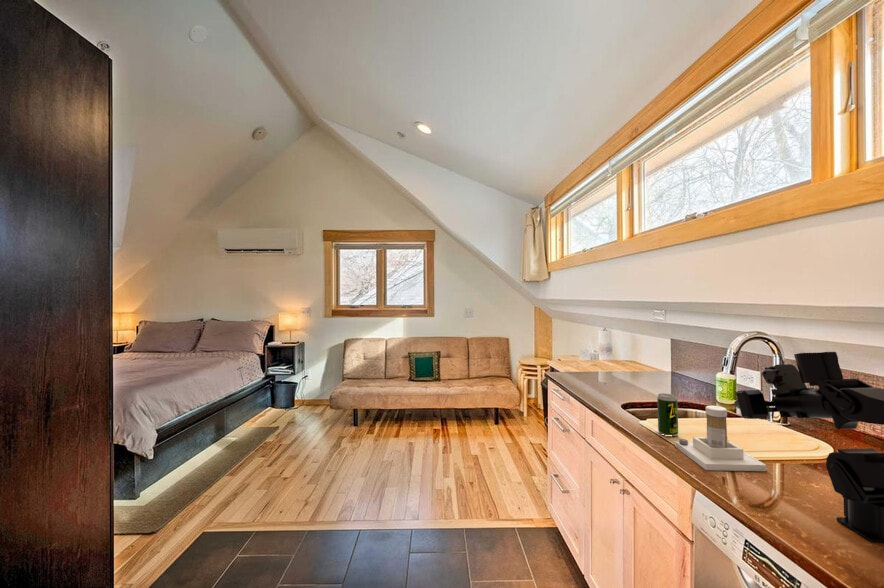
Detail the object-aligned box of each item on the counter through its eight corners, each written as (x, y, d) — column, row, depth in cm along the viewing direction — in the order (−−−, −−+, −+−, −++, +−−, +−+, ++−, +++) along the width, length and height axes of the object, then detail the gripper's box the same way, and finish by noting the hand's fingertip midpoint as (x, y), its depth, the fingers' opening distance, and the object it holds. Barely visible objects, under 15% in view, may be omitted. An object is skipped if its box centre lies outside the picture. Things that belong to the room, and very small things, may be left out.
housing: (766, 471, 90) (766, 454, 90) (705, 470, 91) (705, 453, 91) (727, 447, 104) (727, 433, 104) (675, 446, 105) (675, 432, 105)
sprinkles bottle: (731, 459, 97) (729, 407, 97) (724, 463, 94) (722, 411, 94) (711, 453, 101) (709, 403, 101) (703, 457, 98) (702, 406, 98)
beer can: (654, 432, 116) (653, 394, 116) (664, 429, 119) (663, 392, 119) (671, 438, 111) (670, 398, 111) (682, 435, 114) (681, 396, 114)
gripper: (845, 363, 79) (781, 369, 94) (759, 365, 79) (708, 371, 94) (863, 418, 76) (794, 415, 91) (773, 420, 76) (719, 417, 91)
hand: (753, 403), depth 92 cm, fingers open, 9 cm apart
